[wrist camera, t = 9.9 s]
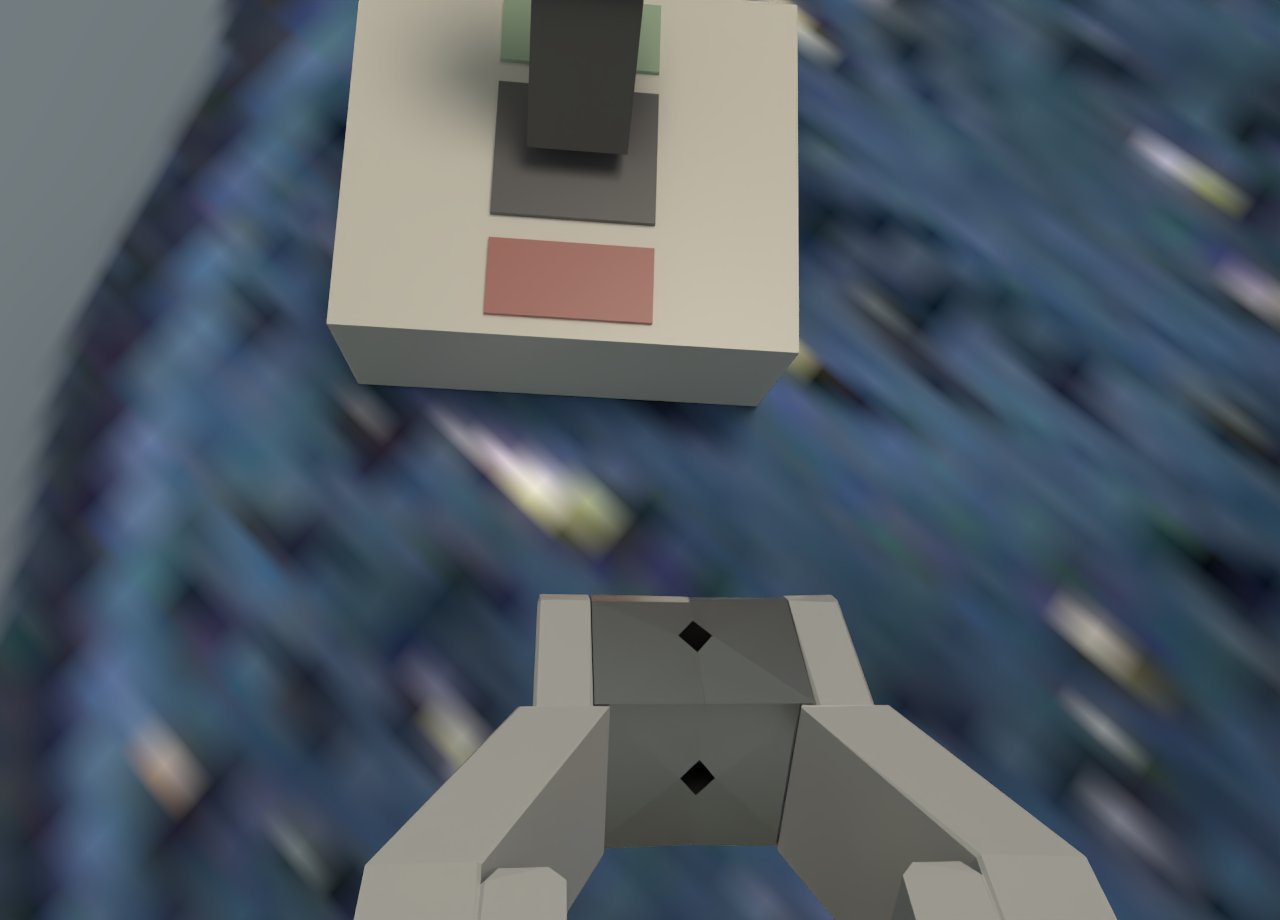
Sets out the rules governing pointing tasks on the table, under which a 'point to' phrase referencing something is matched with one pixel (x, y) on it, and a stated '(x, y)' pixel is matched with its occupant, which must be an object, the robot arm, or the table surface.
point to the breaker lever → (582, 74)
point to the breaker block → (570, 210)
